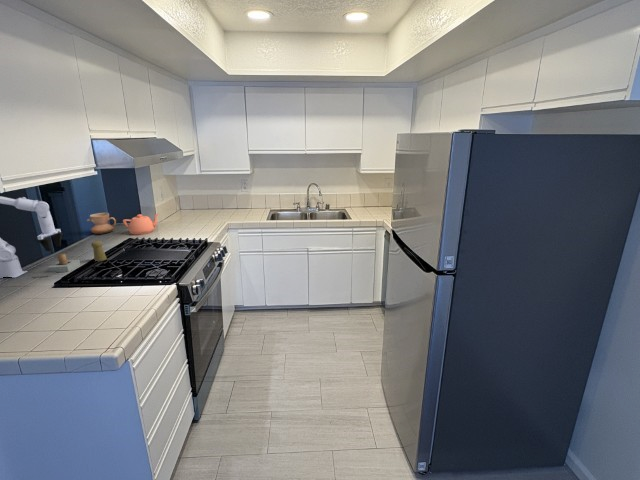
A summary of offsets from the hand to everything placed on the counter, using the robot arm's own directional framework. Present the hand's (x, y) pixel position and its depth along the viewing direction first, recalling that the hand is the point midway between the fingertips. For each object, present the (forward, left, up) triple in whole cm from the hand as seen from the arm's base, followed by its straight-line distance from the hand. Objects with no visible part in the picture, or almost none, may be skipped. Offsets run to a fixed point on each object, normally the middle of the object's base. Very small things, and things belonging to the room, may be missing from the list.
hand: (53, 248), depth 181 cm
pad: (+1, -11, -10) cm, 15 cm away
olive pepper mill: (+18, +8, -11) cm, 22 cm away
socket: (+6, -4, -10) cm, 13 cm away
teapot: (+17, +67, -11) cm, 70 cm away
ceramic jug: (-14, +71, -11) cm, 73 cm away
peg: (+6, -4, -10) cm, 13 cm away
